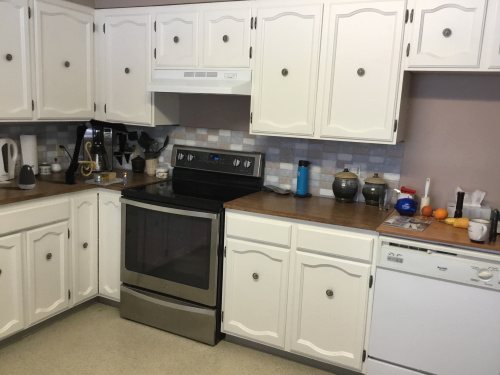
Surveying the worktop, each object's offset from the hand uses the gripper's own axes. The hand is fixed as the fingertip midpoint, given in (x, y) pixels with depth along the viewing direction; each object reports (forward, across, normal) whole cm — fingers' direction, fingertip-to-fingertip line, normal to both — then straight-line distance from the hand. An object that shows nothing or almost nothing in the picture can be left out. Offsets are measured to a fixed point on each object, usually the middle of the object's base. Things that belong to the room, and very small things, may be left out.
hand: (124, 164), depth 313 cm
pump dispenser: (+9, -45, +43) cm, 63 cm away
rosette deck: (+12, -1, +16) cm, 20 cm away
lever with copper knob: (+13, -3, 0) cm, 14 cm away
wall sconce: (+11, +16, +40) cm, 44 cm away
